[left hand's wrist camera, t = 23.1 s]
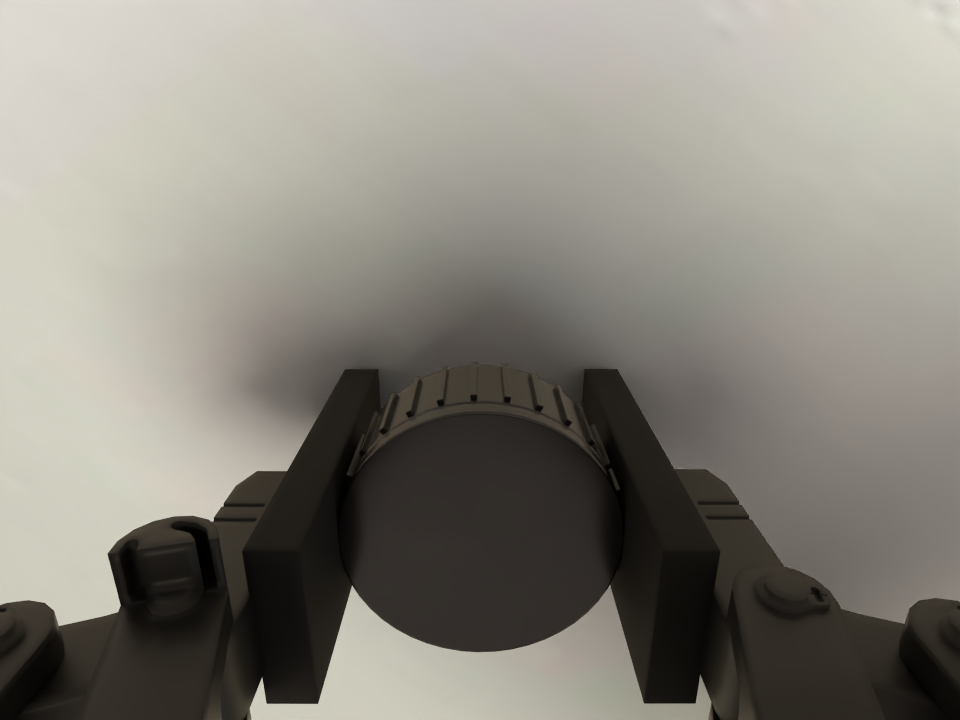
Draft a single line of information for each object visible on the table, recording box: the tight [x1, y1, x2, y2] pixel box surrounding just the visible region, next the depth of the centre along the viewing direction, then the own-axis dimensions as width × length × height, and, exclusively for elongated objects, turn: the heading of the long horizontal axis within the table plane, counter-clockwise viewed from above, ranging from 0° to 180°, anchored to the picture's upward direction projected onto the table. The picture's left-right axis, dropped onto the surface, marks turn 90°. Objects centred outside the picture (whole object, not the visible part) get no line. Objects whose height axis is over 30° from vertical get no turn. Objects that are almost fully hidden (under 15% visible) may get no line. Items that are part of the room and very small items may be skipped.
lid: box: [338, 362, 625, 652], centre depth 11 cm, size 5×5×2 cm
